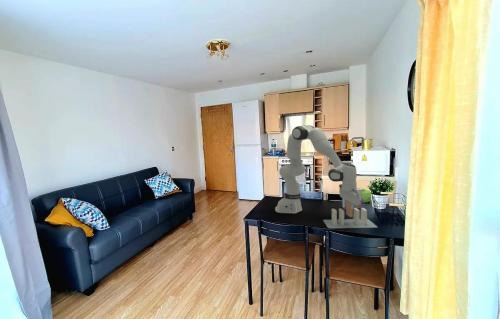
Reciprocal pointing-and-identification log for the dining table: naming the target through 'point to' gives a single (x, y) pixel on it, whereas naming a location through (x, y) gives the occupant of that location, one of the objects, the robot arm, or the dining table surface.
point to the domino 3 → (349, 209)
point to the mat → (349, 224)
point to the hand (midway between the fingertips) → (349, 207)
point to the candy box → (360, 200)
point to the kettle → (366, 196)
